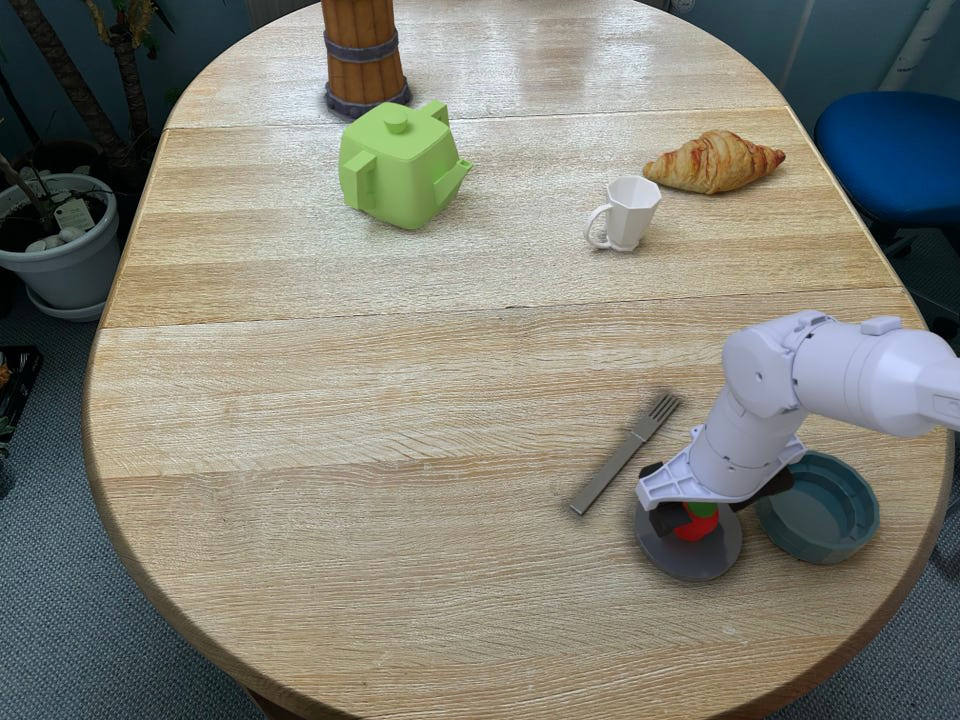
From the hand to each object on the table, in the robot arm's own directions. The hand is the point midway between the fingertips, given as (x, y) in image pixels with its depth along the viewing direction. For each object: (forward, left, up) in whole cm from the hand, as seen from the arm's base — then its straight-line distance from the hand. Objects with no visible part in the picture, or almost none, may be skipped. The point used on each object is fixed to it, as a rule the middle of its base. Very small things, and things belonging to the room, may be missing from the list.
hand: (694, 514), depth 61 cm
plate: (0, 0, -3) cm, 3 cm away
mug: (+80, -32, -3) cm, 86 cm away
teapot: (+53, -17, -3) cm, 56 cm away
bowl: (-8, -9, -3) cm, 12 cm away
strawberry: (0, 0, -2) cm, 2 cm away
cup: (+28, -29, -3) cm, 40 cm away
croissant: (+26, -51, -3) cm, 57 cm away
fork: (+9, -4, -3) cm, 10 cm away
